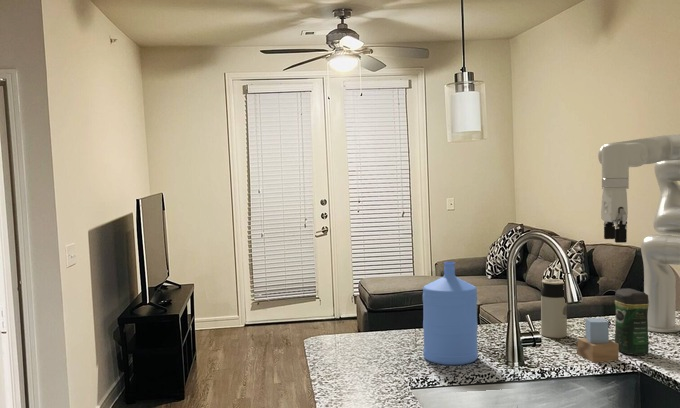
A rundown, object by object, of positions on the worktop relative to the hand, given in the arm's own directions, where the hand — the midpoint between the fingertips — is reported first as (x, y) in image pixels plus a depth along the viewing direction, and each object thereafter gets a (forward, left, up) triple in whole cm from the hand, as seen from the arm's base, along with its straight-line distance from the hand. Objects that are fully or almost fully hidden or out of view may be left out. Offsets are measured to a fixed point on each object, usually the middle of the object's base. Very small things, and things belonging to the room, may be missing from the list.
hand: (615, 240), depth 200 cm
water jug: (+13, -51, -32) cm, 62 cm away
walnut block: (+12, -9, -33) cm, 36 cm away
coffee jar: (+6, +3, -32) cm, 33 cm away
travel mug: (-13, -15, -32) cm, 38 cm away
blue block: (+12, -9, -28) cm, 31 cm away
